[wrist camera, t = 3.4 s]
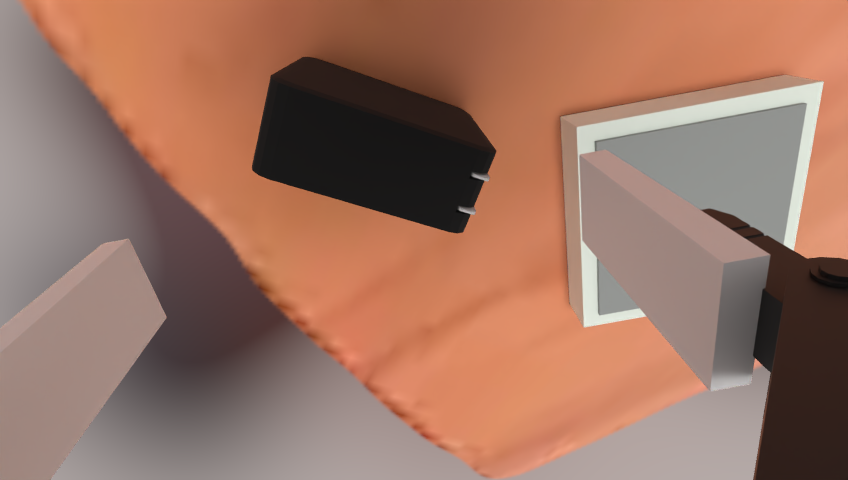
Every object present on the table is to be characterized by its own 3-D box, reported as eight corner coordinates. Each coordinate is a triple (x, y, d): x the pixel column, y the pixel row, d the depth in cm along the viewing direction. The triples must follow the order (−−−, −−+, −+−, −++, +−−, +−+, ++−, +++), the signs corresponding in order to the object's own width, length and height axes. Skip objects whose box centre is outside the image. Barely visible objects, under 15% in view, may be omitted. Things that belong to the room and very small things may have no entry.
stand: (560, 116, 30) (578, 128, 28) (785, 74, 30) (827, 82, 27) (569, 303, 37) (585, 330, 34) (756, 270, 36) (789, 293, 33)
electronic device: (305, 53, 28) (266, 76, 19) (468, 110, 30) (501, 154, 21) (289, 123, 30) (246, 175, 21) (444, 172, 32) (466, 239, 23)
